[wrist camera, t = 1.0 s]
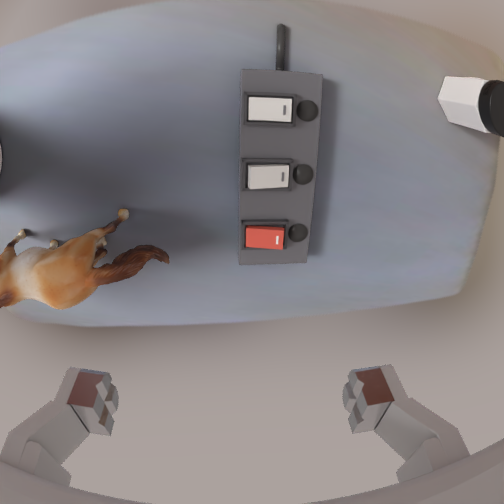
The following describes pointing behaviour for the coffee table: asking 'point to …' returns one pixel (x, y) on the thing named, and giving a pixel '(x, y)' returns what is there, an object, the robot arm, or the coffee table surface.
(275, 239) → the red rocker
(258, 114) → the grey rocker end
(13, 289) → the horse figurine
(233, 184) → the coffee table surface
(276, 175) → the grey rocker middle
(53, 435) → the robot arm
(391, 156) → the coffee table surface
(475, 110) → the jar
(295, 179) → the grey switch panel
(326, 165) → the coffee table surface
